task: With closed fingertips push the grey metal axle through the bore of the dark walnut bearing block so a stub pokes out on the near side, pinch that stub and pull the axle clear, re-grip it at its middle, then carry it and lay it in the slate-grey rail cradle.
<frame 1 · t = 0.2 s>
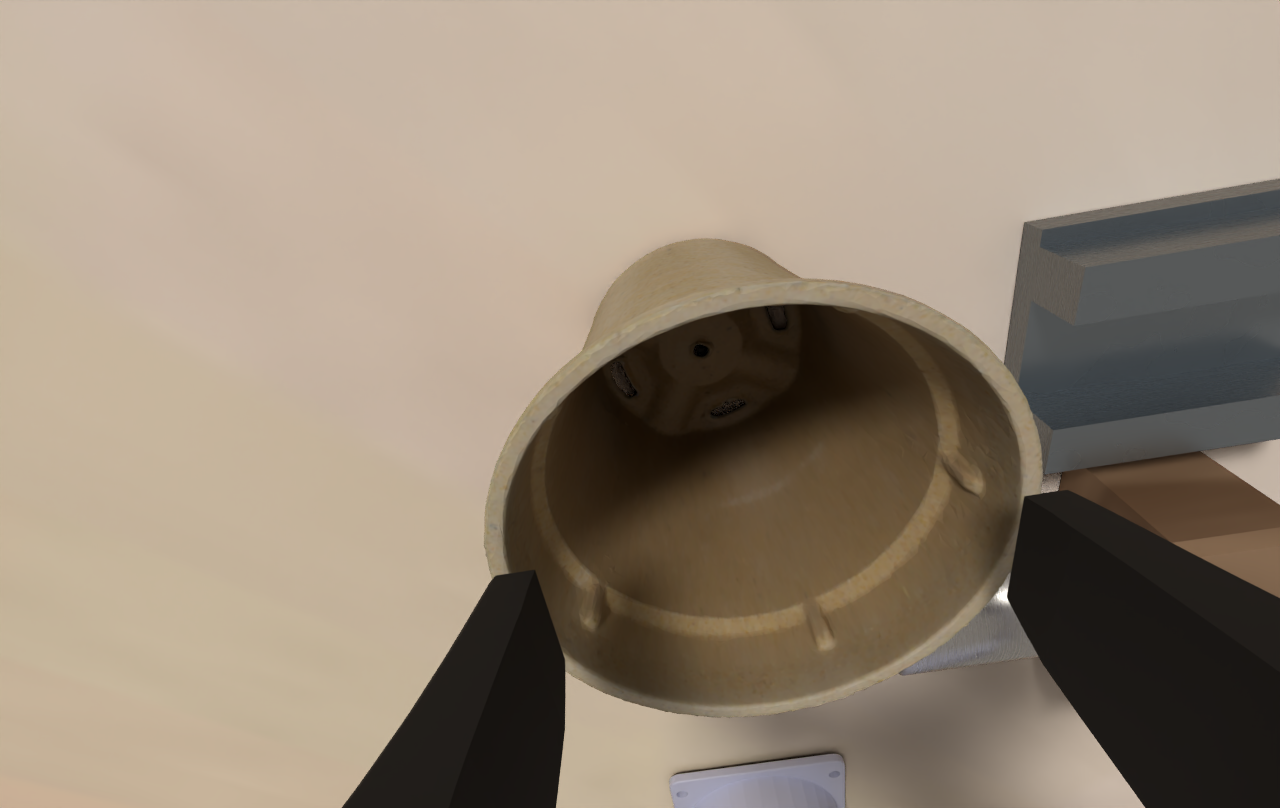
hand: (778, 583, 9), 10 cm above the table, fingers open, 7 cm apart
beam: (1094, 545, 23), on the table
flower pot: (700, 341, 18), on the table
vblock: (1146, 318, 18), on the table
axle: (1033, 591, 21), point 2 cm above the table, tilted 6°
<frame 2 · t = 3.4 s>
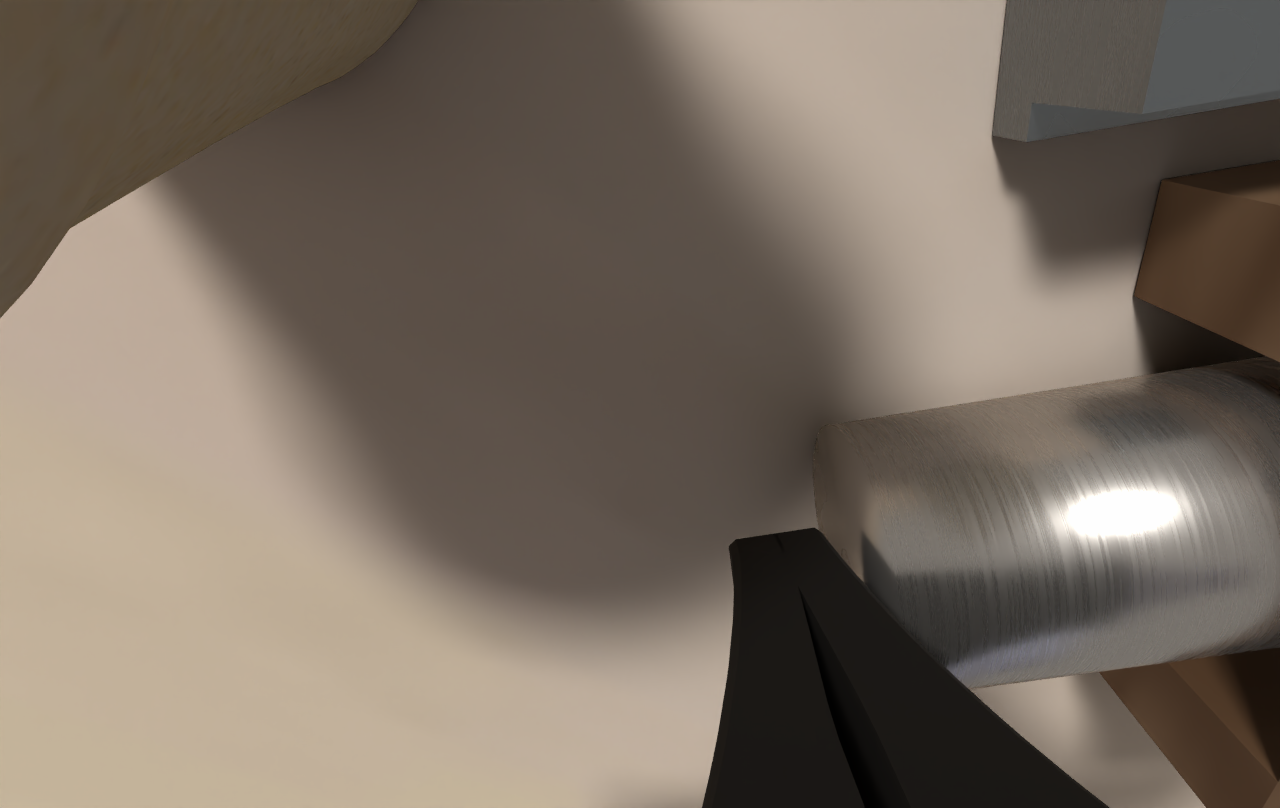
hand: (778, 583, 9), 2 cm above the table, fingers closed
beam: (1199, 427, 11), on the table
axle: (1189, 505, 9), point 2 cm above the table, tilted 7°, touching gripper
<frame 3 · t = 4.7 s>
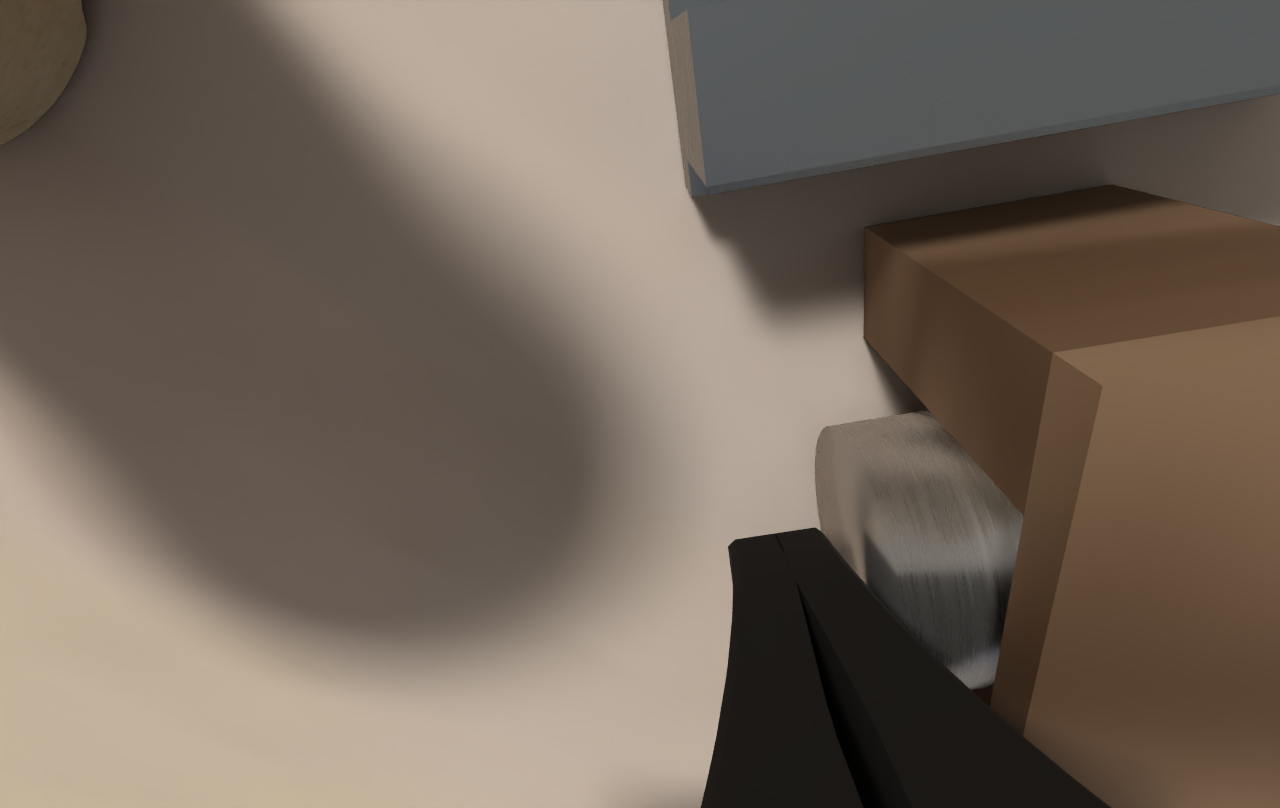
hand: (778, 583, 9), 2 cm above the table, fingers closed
beam: (960, 461, 11), on the table
axle: (1192, 503, 9), point 2 cm above the table, tilted 7°, touching gripper
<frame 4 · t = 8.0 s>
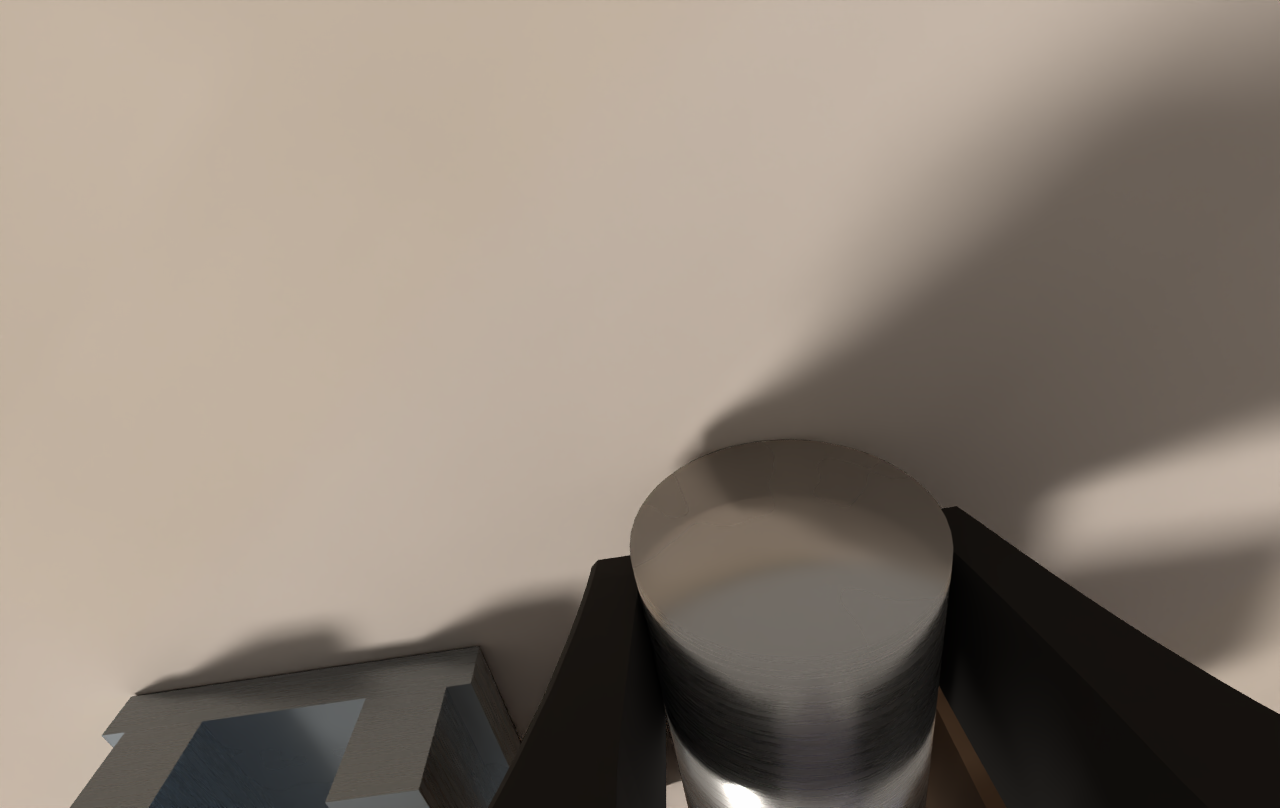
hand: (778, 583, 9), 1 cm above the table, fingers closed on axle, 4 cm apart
beam: (777, 727, 13), on the table
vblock: (378, 787, 14), on the table
axle: (797, 751, 10), point 2 cm above the table, touching gripper
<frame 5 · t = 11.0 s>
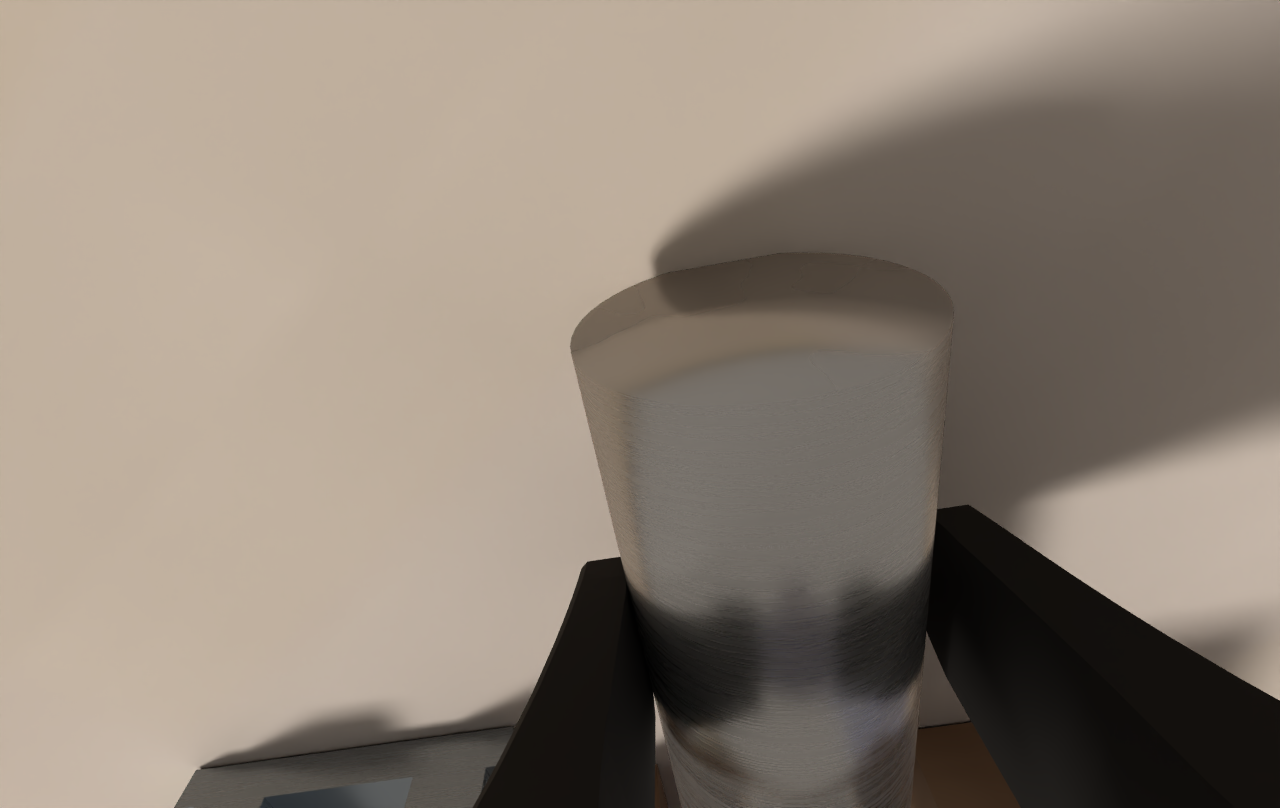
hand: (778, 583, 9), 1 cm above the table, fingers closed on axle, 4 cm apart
beam: (783, 791, 15), on the table
axle: (776, 625, 9), point 2 cm above the table, touching gripper
when the fingers open (5 cm above the table, at t = 14.2 s): axle drops 1 cm, resting on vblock.
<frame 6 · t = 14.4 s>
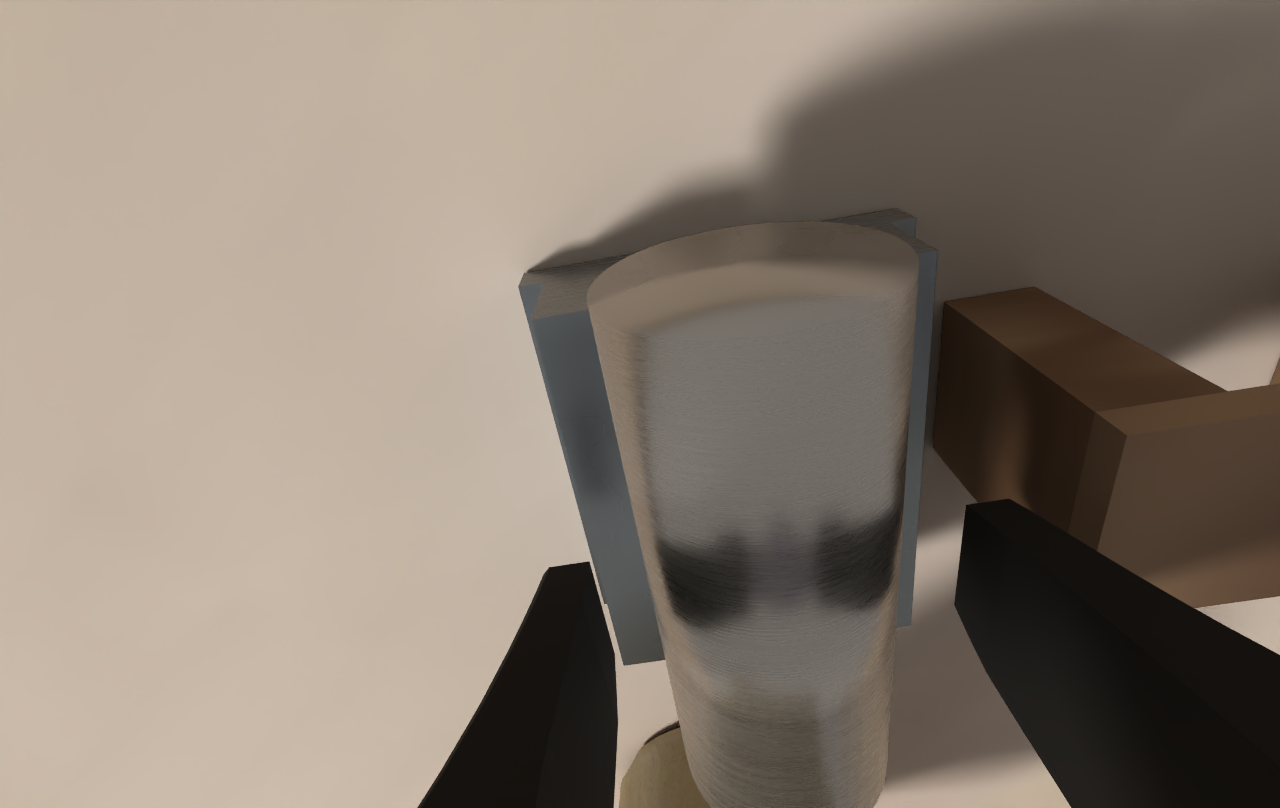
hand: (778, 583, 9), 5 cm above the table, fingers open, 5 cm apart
beam: (1156, 344, 13), on the table
flower pot: (718, 766, 20), on the table
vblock: (728, 422, 13), on the table
axle: (767, 560, 10), point 4 cm above the table, touching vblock
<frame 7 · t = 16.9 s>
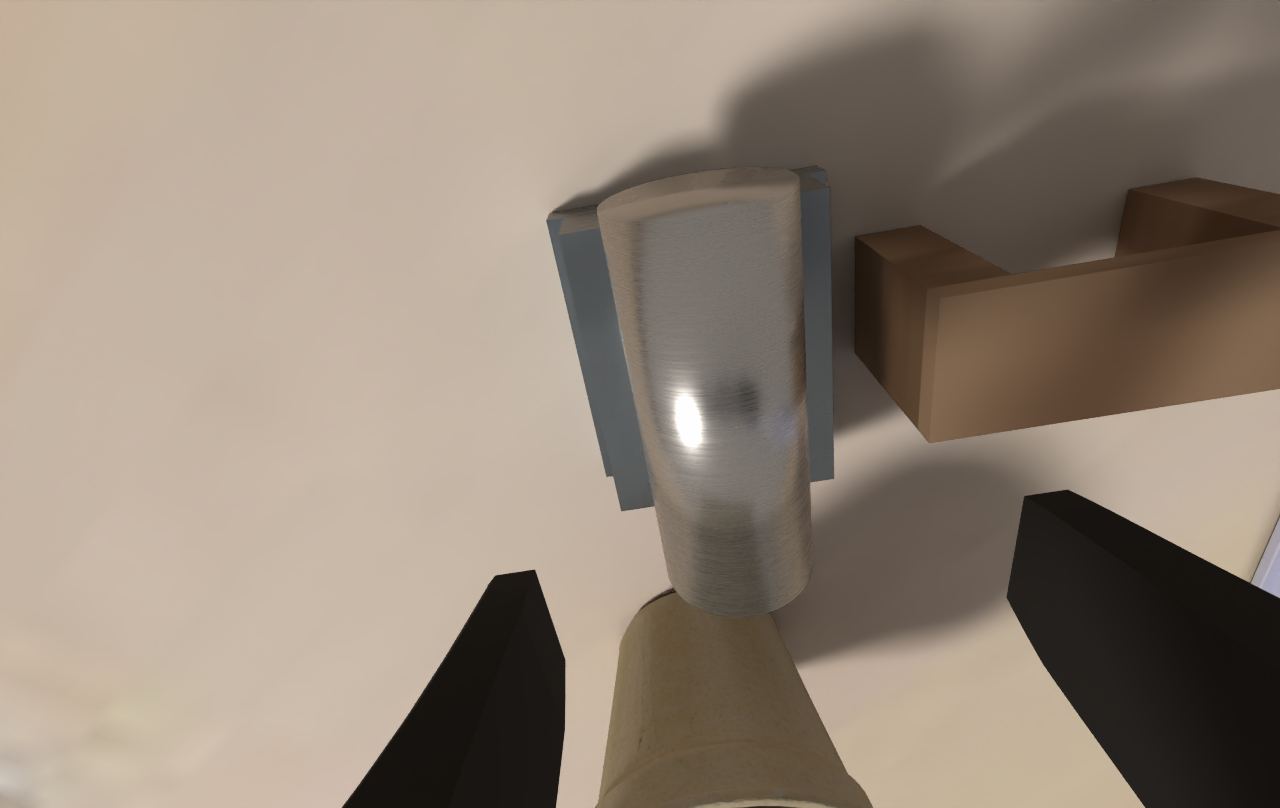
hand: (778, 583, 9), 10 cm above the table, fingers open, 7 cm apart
beam: (1015, 270, 17), on the table
flower pot: (699, 636, 25), on the table
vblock: (699, 331, 18), on the table
axle: (720, 406, 15), point 4 cm above the table, touching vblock
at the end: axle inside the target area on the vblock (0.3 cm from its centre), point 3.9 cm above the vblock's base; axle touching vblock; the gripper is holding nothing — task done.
